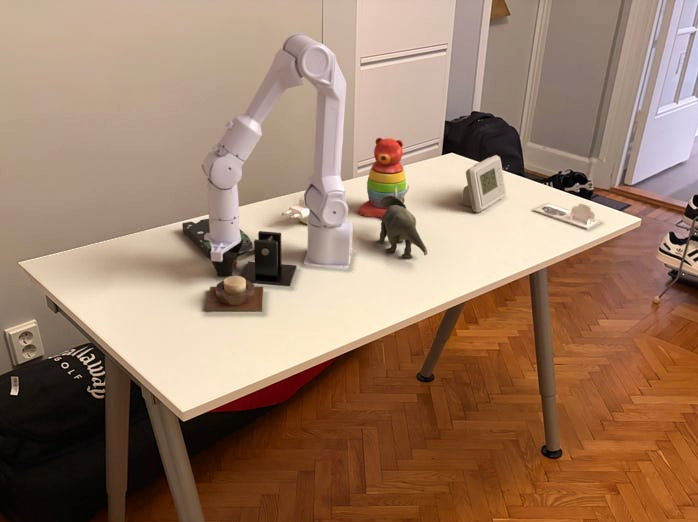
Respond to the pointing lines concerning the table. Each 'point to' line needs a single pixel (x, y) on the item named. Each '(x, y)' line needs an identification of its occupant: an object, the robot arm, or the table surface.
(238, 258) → the lever
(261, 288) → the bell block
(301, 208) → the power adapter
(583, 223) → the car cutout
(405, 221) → the toy dinosaur
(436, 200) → the table surface
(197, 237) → the disk drive
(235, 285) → the button
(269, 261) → the switch bracket
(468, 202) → the digital clock
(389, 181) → the stacking bear
